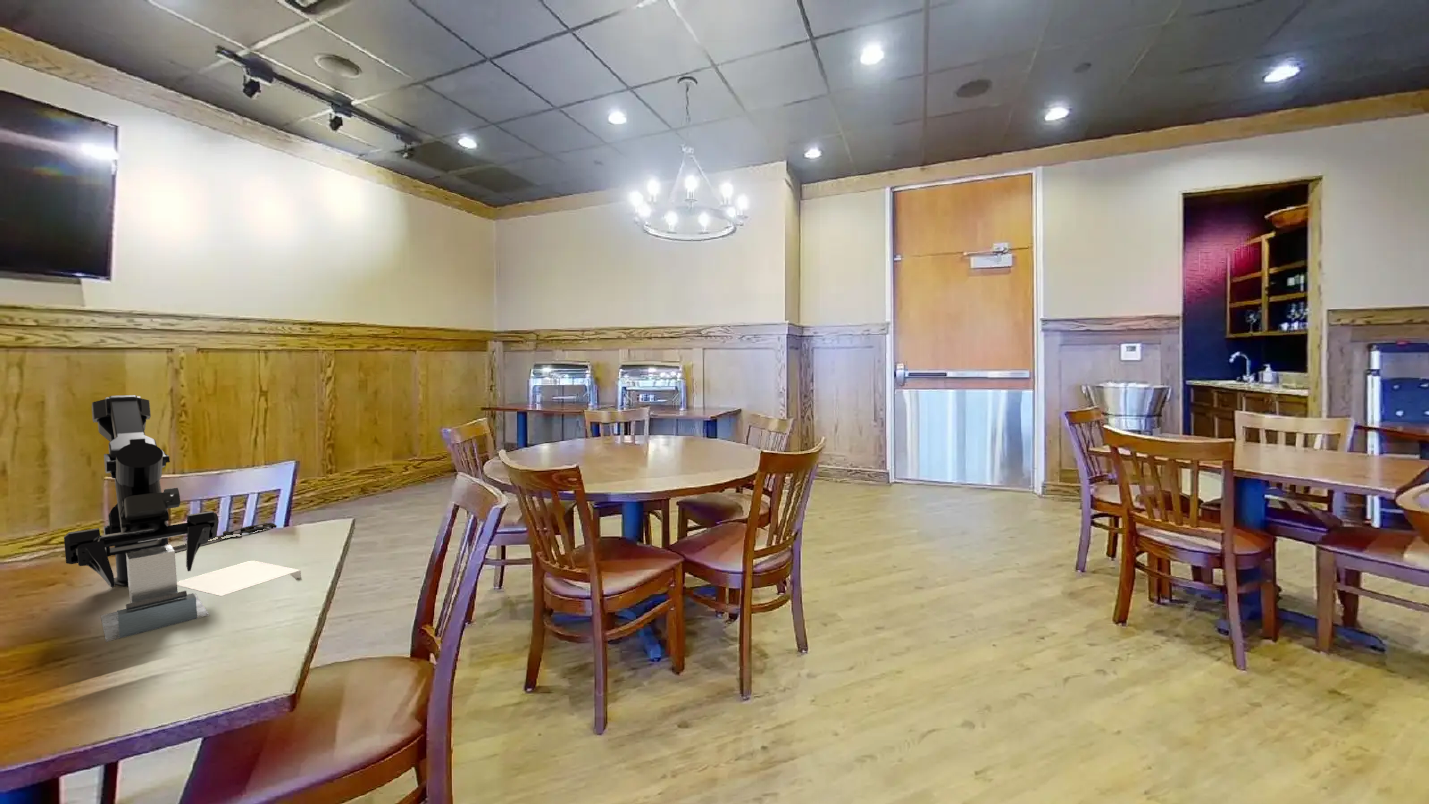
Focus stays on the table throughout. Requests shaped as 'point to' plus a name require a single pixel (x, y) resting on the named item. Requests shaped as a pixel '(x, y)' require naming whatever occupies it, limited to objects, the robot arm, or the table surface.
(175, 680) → the table surface
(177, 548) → the knife
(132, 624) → the grey piece
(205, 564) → the table surface
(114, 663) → the table surface
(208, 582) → the cutting board
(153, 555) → the square hollow tube
